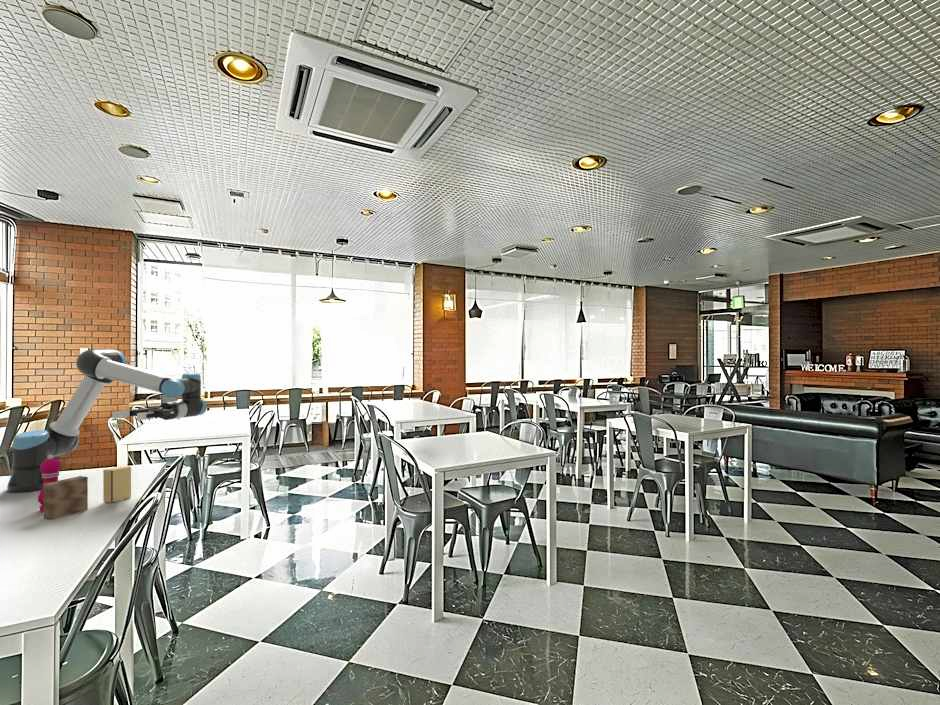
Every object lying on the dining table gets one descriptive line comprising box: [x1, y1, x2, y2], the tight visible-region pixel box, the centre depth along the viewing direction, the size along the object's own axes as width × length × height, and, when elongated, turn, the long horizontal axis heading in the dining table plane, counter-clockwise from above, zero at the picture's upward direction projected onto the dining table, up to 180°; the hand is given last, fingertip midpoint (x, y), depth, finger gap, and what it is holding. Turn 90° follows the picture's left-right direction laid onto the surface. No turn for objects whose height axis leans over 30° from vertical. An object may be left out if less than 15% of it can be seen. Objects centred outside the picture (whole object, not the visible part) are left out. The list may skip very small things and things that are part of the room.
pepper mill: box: [37, 455, 62, 513], centre depth 188 cm, size 7×7×20 cm
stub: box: [102, 465, 132, 504], centre depth 200 cm, size 8×4×12 cm, turn 160°
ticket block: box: [43, 475, 89, 521], centre depth 183 cm, size 12×4×12 cm, turn 160°
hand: (125, 416), depth 204 cm, fingers open, 13 cm apart
